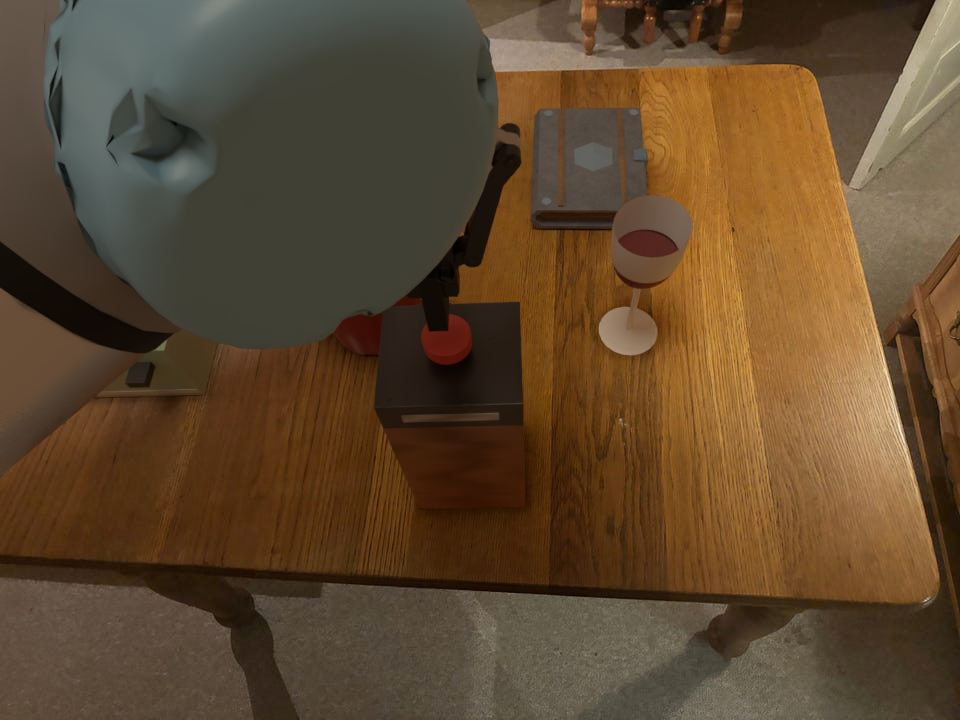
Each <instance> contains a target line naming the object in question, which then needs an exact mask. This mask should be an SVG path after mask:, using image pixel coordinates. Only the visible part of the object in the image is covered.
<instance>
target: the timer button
mask: <svg viewBox="0 0 960 720" xmlns="http://www.w3.org/2000/svg"><path fill="white" fill-rule="evenodd" d="M421 339H422V344H423V348H424V351H425V353H426V355H427V356H428V358H429V359H431V360H432V361H434V362H436V363H438V364H443V365H450V364H455V363H457V362H460V361H461V360H463V359H464V358H465V357H466V356H467V355H468V354H469V352H470V350H471V348H472V336H471V330H470V327H469V325H468V324H467V322H466V321H465V320H464V319H462V318H461V317H459V316H456V315H451V314H449V330H448V331H432V332H429V330H428V326H427V324H426V325H425V326H424V328H423V330H422V334H421Z"/></svg>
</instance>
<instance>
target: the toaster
mask: <svg viewBox="0 0 960 720" xmlns="http://www.w3.org/2000/svg"><path fill="white" fill-rule="evenodd" d="M217 345H218V343H217V342H213V341H210V340H207V339H205V338H202V337H200V336H197V335H194V334H192V333H190V332H188V331H186V330H184V329H181V330H180V331H178V332H177V333H174V334H173V335H172V336H171V337H169V338H168V339H167V340H166V341H165V342H163V343H162V344H161V345H160V346H159V347H158V348H156V349H155V350H153V351H151V352H148V353H147V354H145V355H144V356H143V357H142V358H141V359H139V360H138V361H137V362H136V363H135V364H134V365H132V366H131V367H130V368H129V369H128V370H126V371H125V372H124V373H123V374H122V375H121V376H119V377H118V378H117V379H116V380H115V381H113V382H112V383H111V384H110V385H109V386H108V387H106V388H105V389H104V390H103V391H102V392H100V393H99V394H98V395H97V396H96V397H95V398H127V397H128V398H130V397H133V398H134V397H166V396H167V397H169V396H203V395H204V396H205V395H206V391H207V387H208V382H209V378H210V375H211V370H212V365H213V362H214V359H215V355H216V350H217Z"/></svg>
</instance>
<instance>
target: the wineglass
mask: <svg viewBox="0 0 960 720" xmlns="http://www.w3.org/2000/svg"><path fill="white" fill-rule="evenodd" d="M693 222H694V221H693V219H692V216H691V214H690V212H689V210H688V209H687V208H686V207H685V206H684V205H683V204H682V203H680V202H679V201H677V200H675V199H673V198H671V197H667V196H664V195H658V194H657V195H656V194H649V195H648V194H647V196H642V197H638V198H635V199H633V200H631V201H629V202H627V203H626V204H625V205H623V206H622V207H621V208H620V209H619V211H618V212H617V214H616V216H615V218H614V222H613V228H612V229H611V242H610V251H611V252H610V253H611V254H610V255H611V261H612V266H613V270H614V271H615V273H616V276H617V277H618V278H619V280H621V282H622V283H624V284H625V285H626V286H627V287H630V288H633V294H632V298H631V302H630V306H620V307H615V308H613V309H611V310H609V311H607V312H606V313H605V314H604V315H603V316H602V317H601V319H600V322H599V324H598V334H599V337H600V338H599V339H600V340H601V342H602V343H603V344H604V345H605V347H607V348H608V349H609V350H611V351H612V352H613V353H617V354H619V355H622V356H623V355H624V356H635V355H636V356H637V355H641V354H644V353H646V352H648V351H649V350H650V349H651V348H652V347H653V346H654V345H655V343H656V341H657V339H658V327H657V324H656V322H655V320H654V319H653V318H652V317H651V315H650V314H649V313H647V312H646V311H644V310H642V309H640V308H638V303H639V300H640V295H641V291H642V290H647V289H652V288H654V287H657V286H659V285H661V284H663V283H664V282H665V281H667V279H669V278H670V277H671V276H672V275H673V273H674V272H675V271H676V270H677V269H678V267H679V265H680V263H681V261H682V259H683V258H684V256H685V253H686V251H687V248H688V245H689V242H690V240H691V236H692V235H693V228H694V225H693V224H694V223H693Z"/></svg>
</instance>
